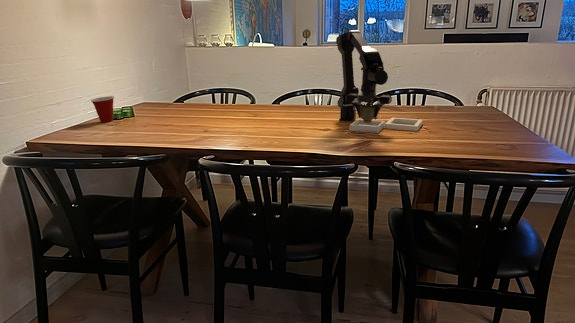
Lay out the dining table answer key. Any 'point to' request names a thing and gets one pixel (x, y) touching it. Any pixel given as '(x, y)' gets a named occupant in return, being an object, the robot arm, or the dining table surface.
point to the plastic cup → (104, 108)
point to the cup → (367, 112)
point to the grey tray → (367, 126)
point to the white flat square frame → (415, 127)
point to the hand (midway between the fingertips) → (367, 118)
